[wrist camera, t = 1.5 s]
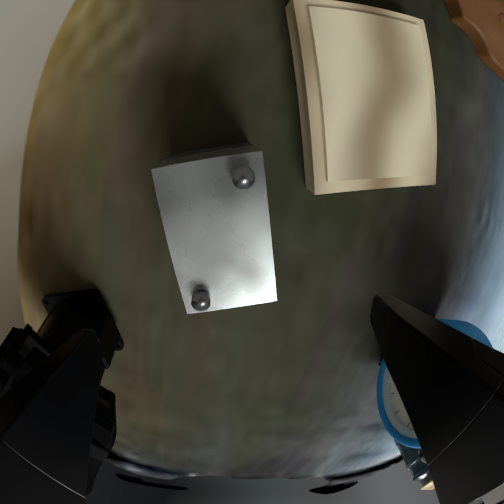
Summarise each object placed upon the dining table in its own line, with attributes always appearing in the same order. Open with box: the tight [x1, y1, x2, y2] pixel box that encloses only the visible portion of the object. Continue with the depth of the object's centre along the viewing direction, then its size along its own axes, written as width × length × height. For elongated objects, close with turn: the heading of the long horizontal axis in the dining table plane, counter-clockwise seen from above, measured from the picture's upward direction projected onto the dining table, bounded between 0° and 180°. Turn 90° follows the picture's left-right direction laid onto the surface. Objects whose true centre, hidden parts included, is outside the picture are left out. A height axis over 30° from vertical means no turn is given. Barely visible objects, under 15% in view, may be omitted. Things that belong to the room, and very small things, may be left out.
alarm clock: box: [377, 319, 492, 464], centre depth 21 cm, size 13×6×15 cm, turn 164°
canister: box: [394, 439, 435, 490], centre depth 33 cm, size 13×13×18 cm
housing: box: [151, 142, 277, 314], centre depth 16 cm, size 5×8×7 cm, turn 6°
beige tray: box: [285, 0, 437, 195], centre depth 15 cm, size 10×13×2 cm
